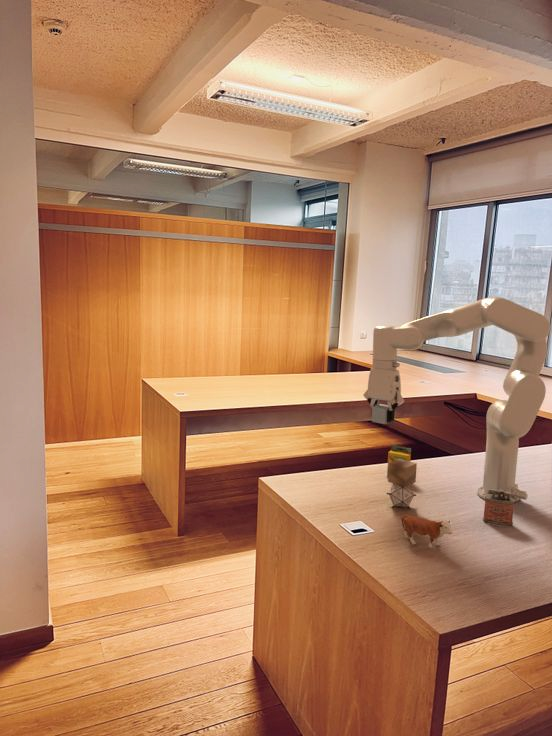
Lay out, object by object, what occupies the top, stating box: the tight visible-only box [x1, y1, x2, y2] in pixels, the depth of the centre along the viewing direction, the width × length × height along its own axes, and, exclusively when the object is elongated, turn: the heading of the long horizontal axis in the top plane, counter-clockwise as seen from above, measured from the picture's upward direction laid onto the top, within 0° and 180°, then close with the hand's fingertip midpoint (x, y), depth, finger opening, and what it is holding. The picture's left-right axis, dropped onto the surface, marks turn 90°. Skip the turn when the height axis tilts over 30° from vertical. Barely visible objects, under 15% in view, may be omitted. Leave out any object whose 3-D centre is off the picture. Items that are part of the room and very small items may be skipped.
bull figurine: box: [401, 514, 454, 550], centre depth 144 cm, size 4×13×8 cm, turn 58°
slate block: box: [371, 403, 389, 425], centre depth 178 cm, size 5×5×5 cm
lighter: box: [482, 489, 516, 528], centre depth 158 cm, size 8×3×10 cm, turn 71°
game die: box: [386, 483, 417, 510], centre depth 169 cm, size 9×8×10 cm
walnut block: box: [387, 459, 418, 487], centre depth 168 cm, size 6×6×6 cm
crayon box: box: [386, 444, 412, 479], centre depth 192 cm, size 7×3×12 cm, turn 58°
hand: (382, 419), depth 178 cm, fingers closed on slate block, 4 cm apart
